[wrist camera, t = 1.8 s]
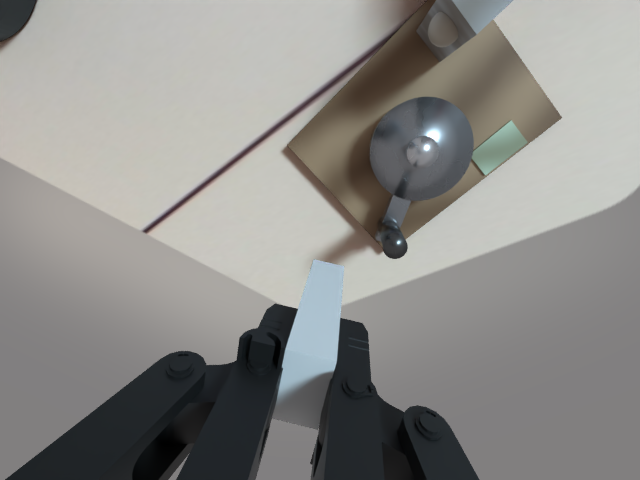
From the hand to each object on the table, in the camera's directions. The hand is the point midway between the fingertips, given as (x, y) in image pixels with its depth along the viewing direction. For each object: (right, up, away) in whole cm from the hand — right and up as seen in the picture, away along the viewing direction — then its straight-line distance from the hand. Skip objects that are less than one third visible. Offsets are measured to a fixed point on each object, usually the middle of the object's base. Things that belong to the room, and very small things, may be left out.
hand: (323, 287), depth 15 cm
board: (+8, +12, +12) cm, 19 cm away
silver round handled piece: (+8, +8, +13) cm, 17 cm away
